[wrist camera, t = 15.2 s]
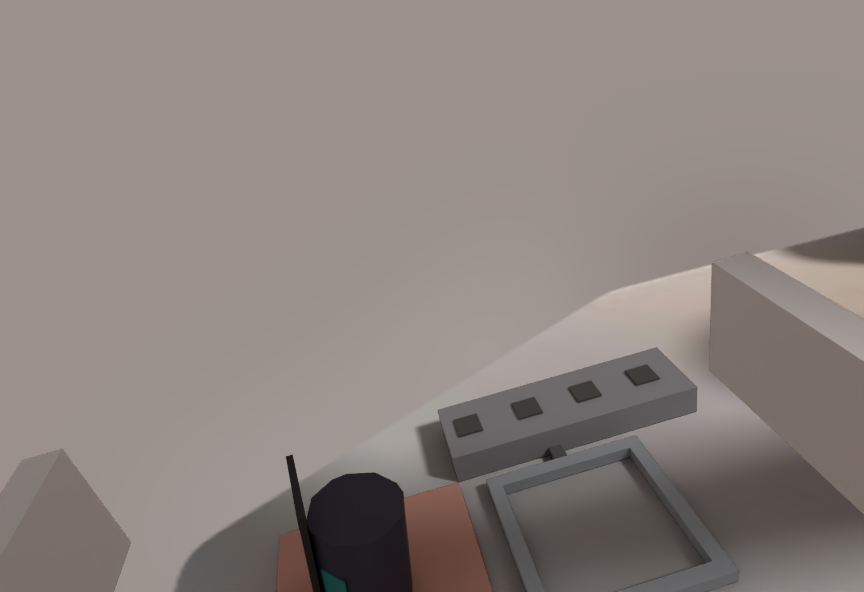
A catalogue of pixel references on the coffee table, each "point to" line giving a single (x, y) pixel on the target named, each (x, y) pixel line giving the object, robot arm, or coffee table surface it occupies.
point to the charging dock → (578, 425)
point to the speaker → (355, 534)
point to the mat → (414, 547)
